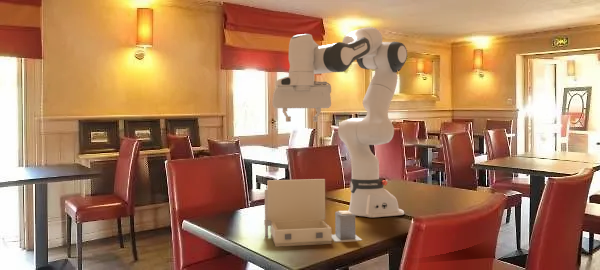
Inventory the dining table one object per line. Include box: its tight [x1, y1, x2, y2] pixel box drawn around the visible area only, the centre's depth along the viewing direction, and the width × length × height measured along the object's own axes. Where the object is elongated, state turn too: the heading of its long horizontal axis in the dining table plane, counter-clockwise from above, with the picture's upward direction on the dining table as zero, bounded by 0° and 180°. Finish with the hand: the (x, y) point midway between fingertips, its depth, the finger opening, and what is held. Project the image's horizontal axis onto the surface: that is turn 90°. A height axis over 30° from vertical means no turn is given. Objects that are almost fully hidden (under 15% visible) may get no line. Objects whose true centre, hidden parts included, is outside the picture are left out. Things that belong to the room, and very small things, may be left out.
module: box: [334, 210, 356, 240], centre depth 153 cm, size 5×7×8 cm
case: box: [263, 178, 333, 248], centre depth 151 cm, size 21×15×19 cm
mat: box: [332, 233, 363, 243], centre depth 153 cm, size 9×9×1 cm
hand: (301, 121), depth 158 cm, fingers open, 8 cm apart
